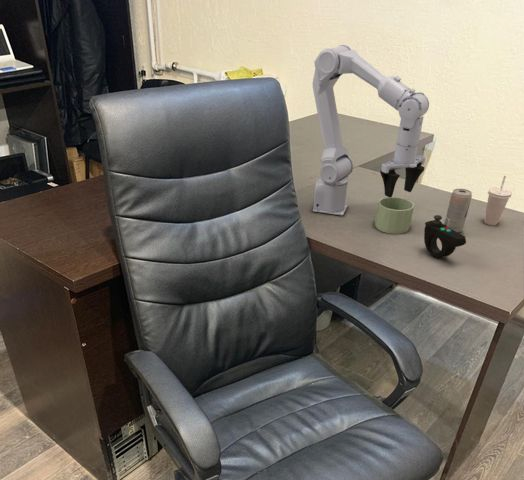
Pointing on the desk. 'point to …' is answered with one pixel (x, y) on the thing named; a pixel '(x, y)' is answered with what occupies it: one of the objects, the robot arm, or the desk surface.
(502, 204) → the smoothie
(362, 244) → the desk surface
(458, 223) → the energy drink
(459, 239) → the controller
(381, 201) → the cup
